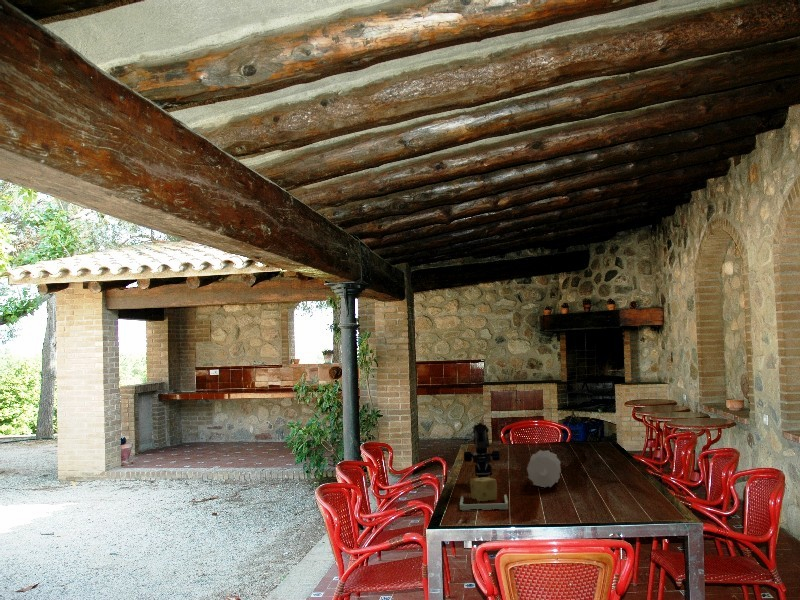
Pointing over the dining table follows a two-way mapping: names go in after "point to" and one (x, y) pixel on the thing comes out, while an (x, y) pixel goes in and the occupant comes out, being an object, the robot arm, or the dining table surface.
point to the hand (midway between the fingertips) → (482, 469)
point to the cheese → (483, 488)
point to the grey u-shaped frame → (484, 505)
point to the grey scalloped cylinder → (544, 469)
